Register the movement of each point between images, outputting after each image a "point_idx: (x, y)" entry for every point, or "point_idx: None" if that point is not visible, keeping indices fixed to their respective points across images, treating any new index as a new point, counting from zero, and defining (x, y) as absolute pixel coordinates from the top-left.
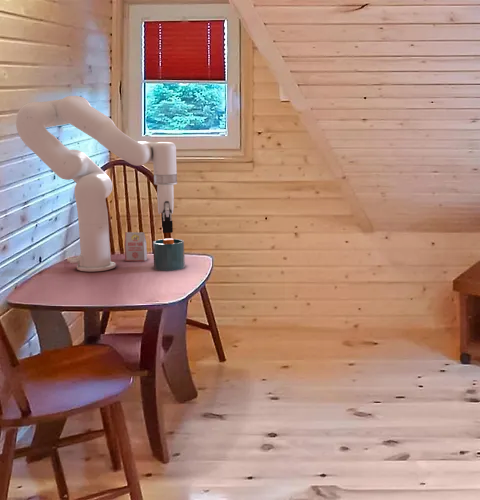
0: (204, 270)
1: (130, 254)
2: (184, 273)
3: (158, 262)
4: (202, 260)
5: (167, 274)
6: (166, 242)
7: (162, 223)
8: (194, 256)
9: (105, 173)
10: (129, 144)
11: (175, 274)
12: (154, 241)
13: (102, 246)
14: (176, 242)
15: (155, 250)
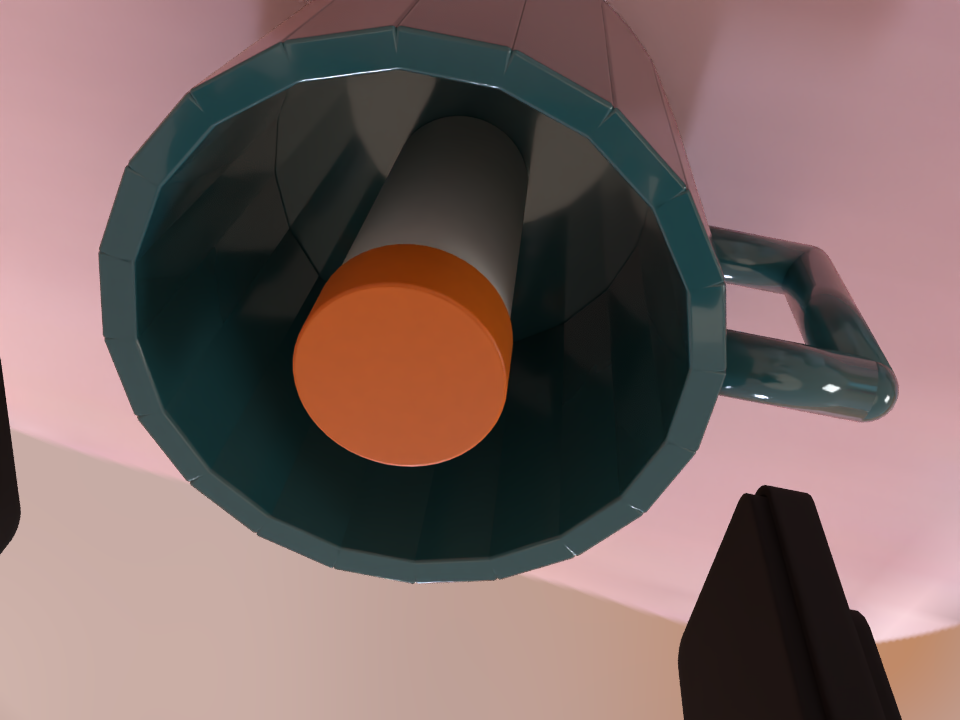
0: (172, 463)
1: None
2: (67, 250)
3: (301, 9)
4: (680, 574)
5: (47, 46)
6: (317, 299)
7: (768, 579)
8: (951, 568)
9: None
10: None
11: (30, 142)
12: (533, 93)
13: None
14: (580, 482)
15: (304, 17)
